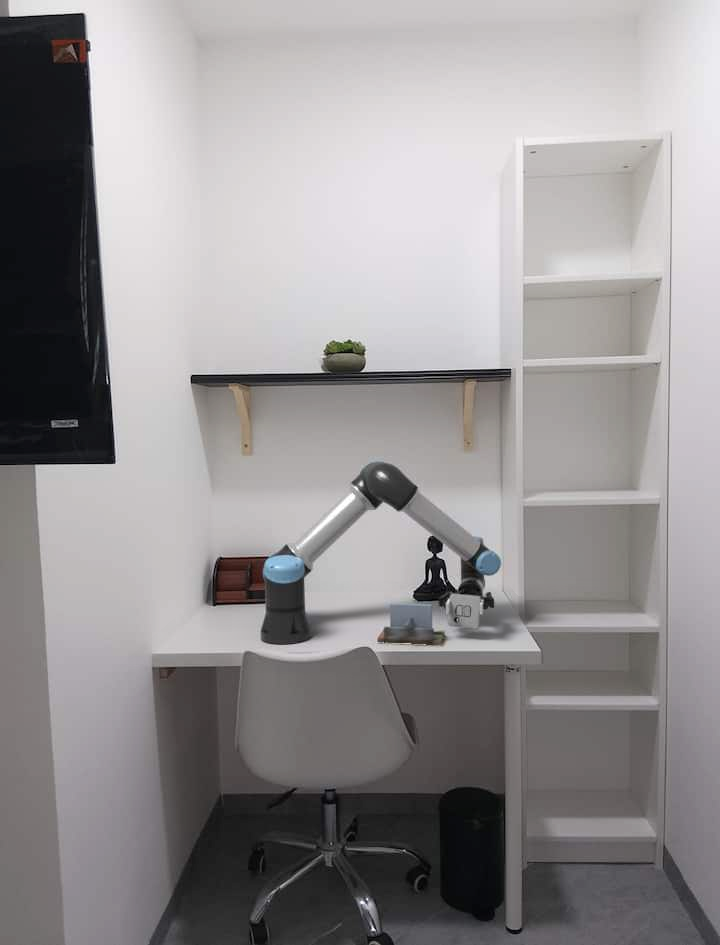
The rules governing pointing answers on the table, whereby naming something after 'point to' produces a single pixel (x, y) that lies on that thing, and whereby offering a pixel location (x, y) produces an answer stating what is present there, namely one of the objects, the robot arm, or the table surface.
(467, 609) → the electrical switch
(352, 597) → the table surface
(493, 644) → the table surface
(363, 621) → the table surface
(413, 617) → the upright blue panel
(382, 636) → the gauge base
